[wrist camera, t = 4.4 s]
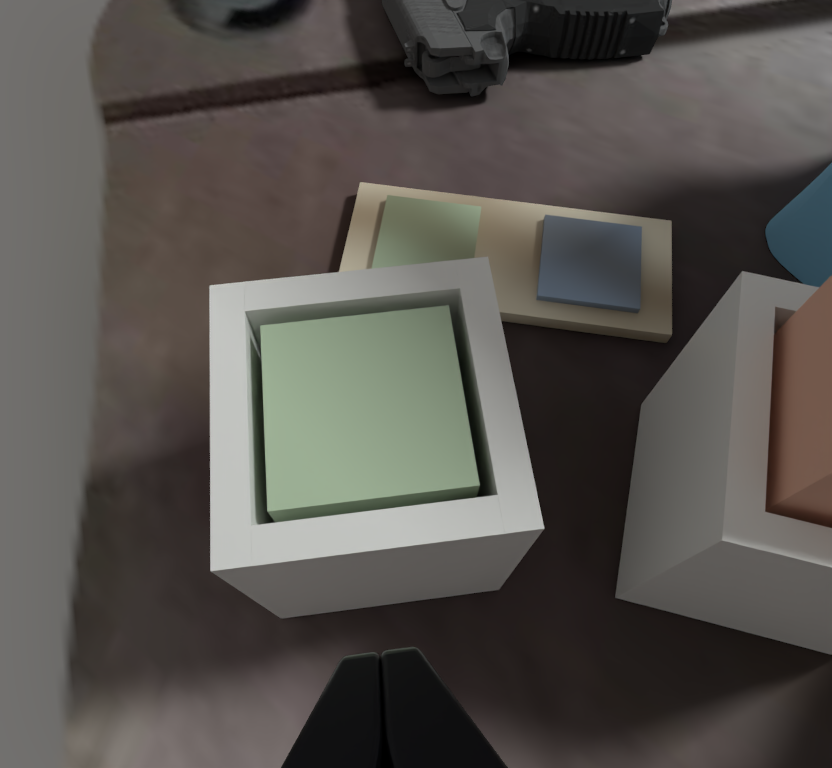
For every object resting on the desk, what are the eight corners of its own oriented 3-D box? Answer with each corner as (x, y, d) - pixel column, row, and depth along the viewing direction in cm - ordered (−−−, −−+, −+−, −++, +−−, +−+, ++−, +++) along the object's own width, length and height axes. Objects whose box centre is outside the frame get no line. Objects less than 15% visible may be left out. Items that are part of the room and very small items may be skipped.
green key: (459, 553, 21) (479, 485, 14) (312, 571, 20) (267, 511, 14) (438, 418, 23) (448, 305, 16) (303, 433, 22) (260, 325, 16)
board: (666, 343, 25) (674, 330, 24) (336, 299, 25) (333, 285, 25) (666, 230, 27) (674, 215, 26) (361, 192, 28) (359, 176, 27)
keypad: (1344, 904, 18) (1981, 1038, 11) (196, 706, 20) (70, 706, 12) (1201, 482, 23) (1574, 376, 15) (288, 355, 24) (235, 206, 17)
